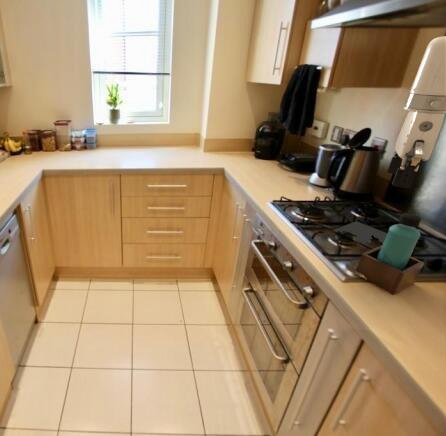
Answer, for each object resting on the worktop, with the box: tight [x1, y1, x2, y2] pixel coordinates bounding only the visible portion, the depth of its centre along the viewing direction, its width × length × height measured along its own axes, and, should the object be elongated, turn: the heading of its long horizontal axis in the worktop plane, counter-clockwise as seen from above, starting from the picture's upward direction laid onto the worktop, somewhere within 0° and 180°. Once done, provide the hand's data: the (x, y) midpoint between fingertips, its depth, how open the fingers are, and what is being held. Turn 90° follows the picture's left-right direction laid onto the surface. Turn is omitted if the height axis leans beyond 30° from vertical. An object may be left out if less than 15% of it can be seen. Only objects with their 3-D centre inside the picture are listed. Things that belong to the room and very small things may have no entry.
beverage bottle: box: [377, 212, 422, 271], centre depth 84 cm, size 6×7×20 cm
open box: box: [355, 245, 425, 296], centre depth 87 cm, size 10×10×7 cm
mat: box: [332, 220, 388, 244], centre depth 109 cm, size 14×14×1 cm
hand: (397, 179), depth 74 cm, fingers open, 9 cm apart
